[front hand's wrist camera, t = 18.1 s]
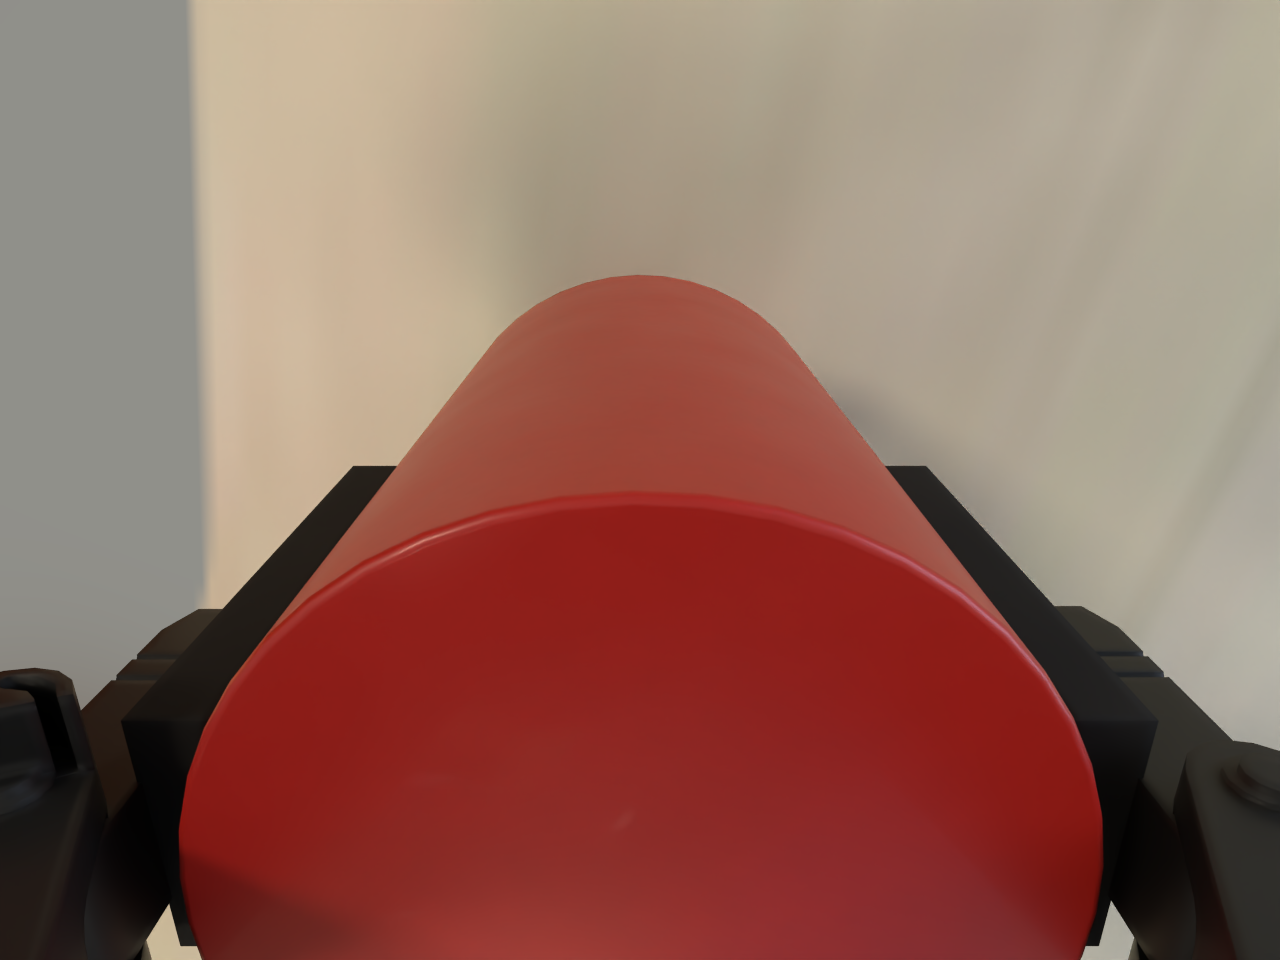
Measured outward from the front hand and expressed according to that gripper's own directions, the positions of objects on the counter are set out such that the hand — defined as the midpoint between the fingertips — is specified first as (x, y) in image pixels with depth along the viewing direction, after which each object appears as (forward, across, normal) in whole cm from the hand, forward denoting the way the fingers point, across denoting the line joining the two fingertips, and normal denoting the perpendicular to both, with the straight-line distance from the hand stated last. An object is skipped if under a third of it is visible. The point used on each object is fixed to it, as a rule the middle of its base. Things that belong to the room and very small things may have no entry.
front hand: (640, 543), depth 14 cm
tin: (+4, 0, 0) cm, 4 cm away
